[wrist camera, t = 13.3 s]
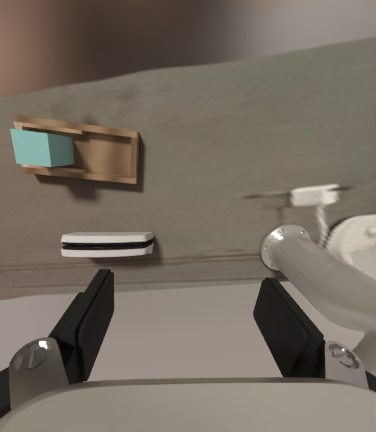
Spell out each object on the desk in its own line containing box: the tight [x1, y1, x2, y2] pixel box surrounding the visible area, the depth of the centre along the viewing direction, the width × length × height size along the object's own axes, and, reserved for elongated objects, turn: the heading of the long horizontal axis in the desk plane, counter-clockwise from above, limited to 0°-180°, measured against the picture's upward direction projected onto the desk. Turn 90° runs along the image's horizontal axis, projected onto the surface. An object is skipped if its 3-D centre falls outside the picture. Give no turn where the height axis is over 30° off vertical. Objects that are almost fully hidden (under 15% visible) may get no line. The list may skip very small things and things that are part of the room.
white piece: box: [61, 232, 154, 257], centre depth 36 cm, size 17×5×10 cm, turn 87°
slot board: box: [13, 114, 139, 184], centre depth 32 cm, size 19×9×2 cm, turn 83°
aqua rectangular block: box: [10, 129, 74, 167], centre depth 28 cm, size 4×4×7 cm
